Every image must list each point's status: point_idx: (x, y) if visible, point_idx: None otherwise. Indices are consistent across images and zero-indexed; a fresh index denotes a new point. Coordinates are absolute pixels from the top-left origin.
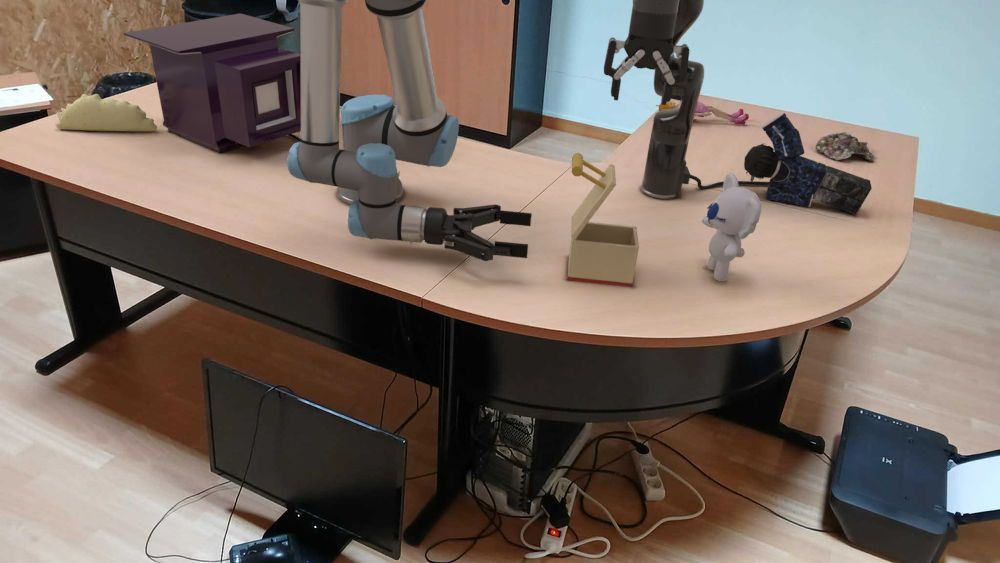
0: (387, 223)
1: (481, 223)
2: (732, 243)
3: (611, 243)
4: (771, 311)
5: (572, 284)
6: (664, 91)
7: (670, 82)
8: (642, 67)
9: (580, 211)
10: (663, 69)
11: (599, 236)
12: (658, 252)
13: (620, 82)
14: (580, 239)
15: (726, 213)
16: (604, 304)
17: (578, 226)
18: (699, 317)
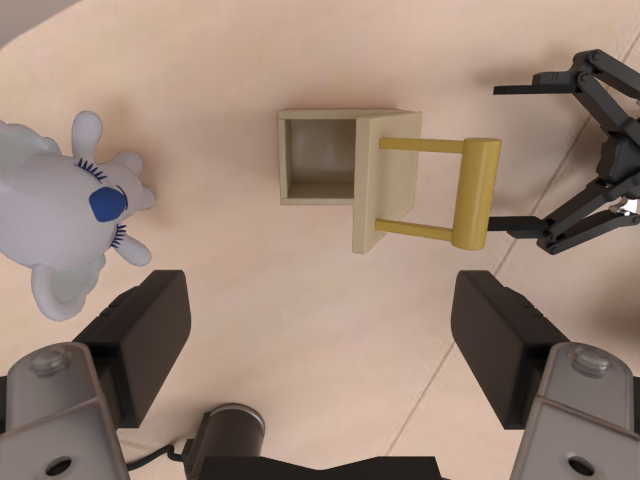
0: None
1: (575, 199)
2: (81, 147)
3: (324, 189)
4: (44, 73)
5: (389, 95)
6: (146, 312)
7: (61, 350)
8: (364, 471)
9: (408, 180)
10: (72, 440)
11: (349, 192)
12: (238, 235)
13: (517, 333)
14: None
15: (71, 175)
16: (335, 35)
17: (415, 115)
18: (167, 24)
